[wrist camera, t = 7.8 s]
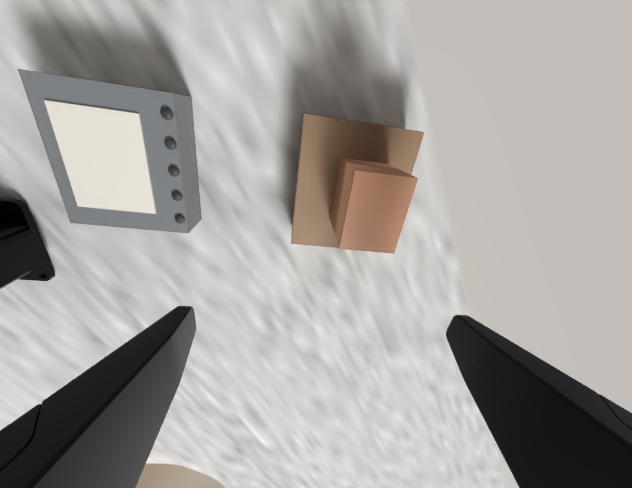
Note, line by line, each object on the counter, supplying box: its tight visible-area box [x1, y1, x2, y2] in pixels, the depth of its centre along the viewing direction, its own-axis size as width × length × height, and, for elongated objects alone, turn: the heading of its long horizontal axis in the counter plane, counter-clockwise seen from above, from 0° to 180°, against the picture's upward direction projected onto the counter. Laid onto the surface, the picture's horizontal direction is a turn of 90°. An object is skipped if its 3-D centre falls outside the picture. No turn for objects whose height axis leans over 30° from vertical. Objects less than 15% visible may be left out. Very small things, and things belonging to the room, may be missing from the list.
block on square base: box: [291, 113, 424, 253], centre depth 15 cm, size 7×8×6 cm
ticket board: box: [18, 69, 201, 233], centre depth 15 cm, size 7×8×3 cm
